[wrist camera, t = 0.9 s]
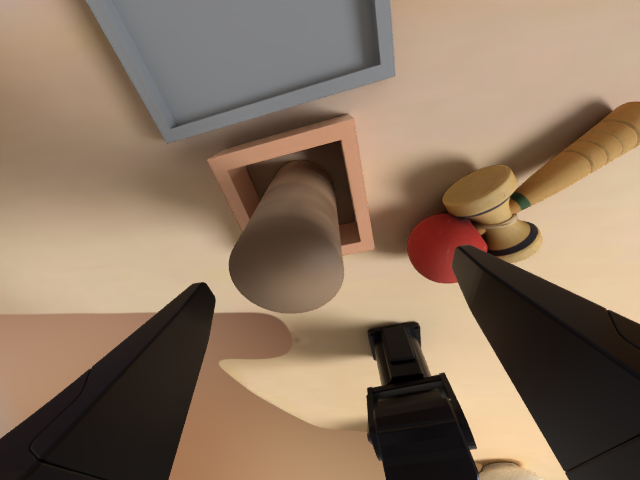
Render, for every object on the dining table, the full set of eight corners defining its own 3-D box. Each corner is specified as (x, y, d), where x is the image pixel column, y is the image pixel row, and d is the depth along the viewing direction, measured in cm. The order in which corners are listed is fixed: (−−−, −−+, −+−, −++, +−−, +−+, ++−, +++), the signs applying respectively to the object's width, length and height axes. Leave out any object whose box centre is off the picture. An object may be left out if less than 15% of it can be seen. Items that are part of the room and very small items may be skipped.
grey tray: (387, 77, 16) (395, 76, 14) (181, 139, 18) (167, 143, 17) (363, -213, 10) (371, -271, 9) (69, -73, 13) (29, -99, 11)
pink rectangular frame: (367, 228, 22) (374, 249, 20) (269, 249, 24) (262, 271, 21) (348, 113, 17) (354, 118, 14) (225, 148, 19) (206, 159, 16)
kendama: (581, 64, 17) (379, 225, 21) (721, 59, 12) (417, 272, 16) (583, 147, 21) (414, 266, 25) (686, 169, 16) (453, 314, 20)
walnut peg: (340, 212, 22) (353, 304, 12) (283, 225, 22) (255, 320, 13) (326, 152, 19) (329, 211, 10) (262, 169, 20) (206, 239, 10)
